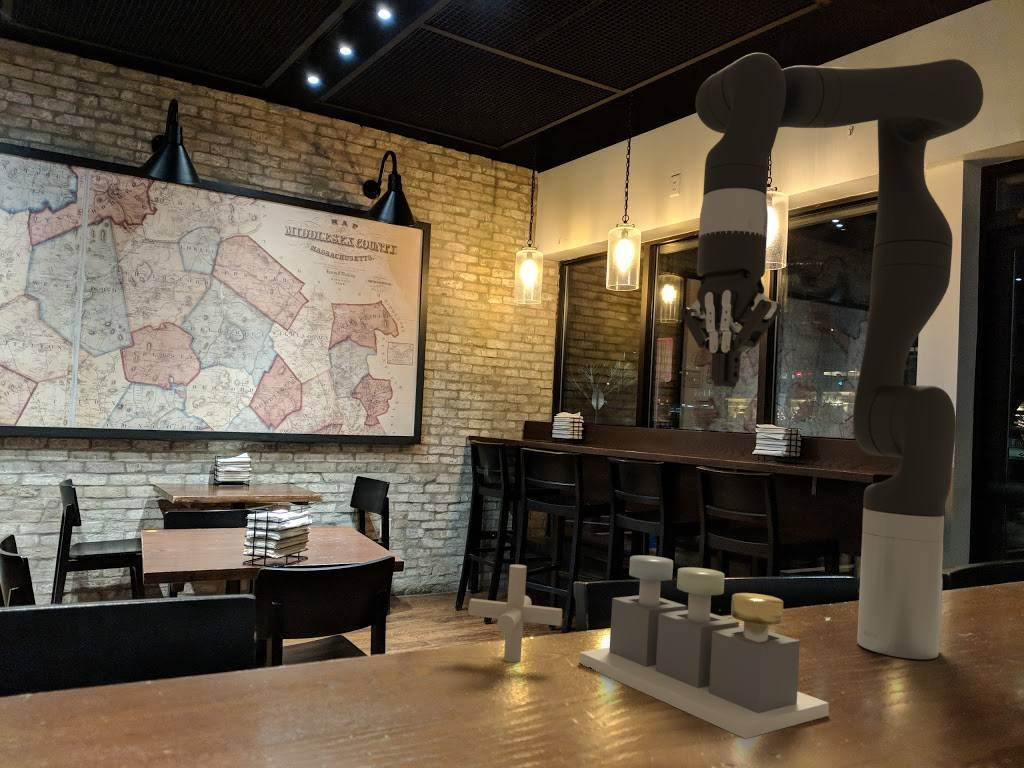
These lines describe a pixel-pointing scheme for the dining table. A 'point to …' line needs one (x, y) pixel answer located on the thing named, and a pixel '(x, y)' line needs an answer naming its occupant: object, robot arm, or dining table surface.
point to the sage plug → (700, 590)
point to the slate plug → (650, 576)
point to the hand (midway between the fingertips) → (724, 386)
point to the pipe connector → (515, 613)
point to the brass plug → (757, 614)
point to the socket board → (706, 667)
